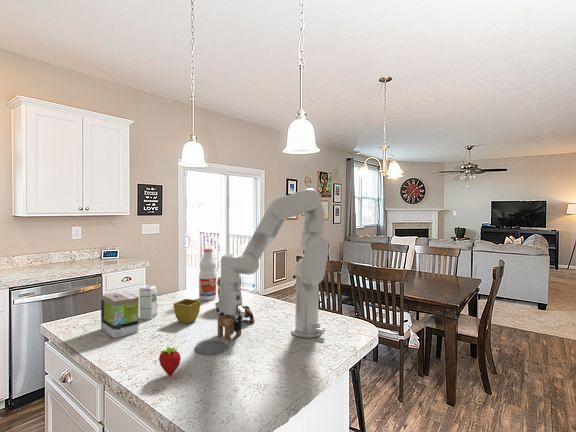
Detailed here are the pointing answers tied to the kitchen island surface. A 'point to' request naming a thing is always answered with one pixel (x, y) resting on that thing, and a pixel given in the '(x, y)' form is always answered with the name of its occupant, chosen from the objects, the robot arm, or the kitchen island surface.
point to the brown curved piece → (248, 313)
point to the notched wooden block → (227, 326)
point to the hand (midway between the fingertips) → (229, 327)
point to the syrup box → (148, 302)
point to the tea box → (119, 314)
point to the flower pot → (187, 310)
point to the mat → (211, 347)
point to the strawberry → (169, 360)
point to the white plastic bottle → (207, 277)
